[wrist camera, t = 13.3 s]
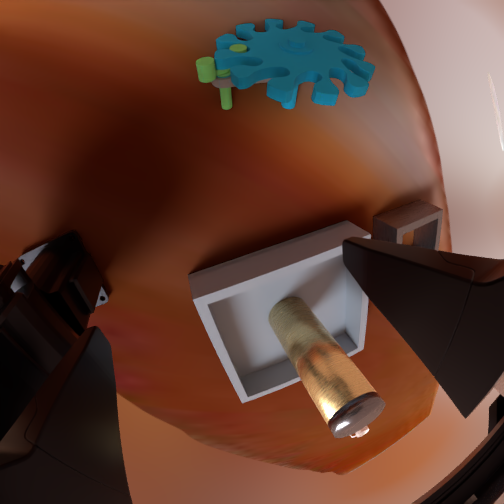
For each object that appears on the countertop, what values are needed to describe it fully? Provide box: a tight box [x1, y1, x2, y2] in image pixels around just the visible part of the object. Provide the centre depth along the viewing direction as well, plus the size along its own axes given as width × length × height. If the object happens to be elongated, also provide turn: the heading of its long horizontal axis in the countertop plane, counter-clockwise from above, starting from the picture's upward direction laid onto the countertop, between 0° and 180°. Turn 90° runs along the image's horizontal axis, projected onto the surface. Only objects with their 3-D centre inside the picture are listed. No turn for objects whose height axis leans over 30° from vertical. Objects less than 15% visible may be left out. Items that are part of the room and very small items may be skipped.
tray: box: [188, 220, 371, 403], centre depth 25 cm, size 15×15×4 cm
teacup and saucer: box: [350, 426, 369, 437], centre depth 47 cm, size 9×8×4 cm
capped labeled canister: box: [268, 297, 385, 438], centre depth 20 cm, size 4×4×13 cm
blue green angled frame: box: [196, 19, 375, 110], centre depth 15 cm, size 11×6×10 cm
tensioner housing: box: [373, 200, 443, 251], centre depth 26 cm, size 8×8×4 cm
